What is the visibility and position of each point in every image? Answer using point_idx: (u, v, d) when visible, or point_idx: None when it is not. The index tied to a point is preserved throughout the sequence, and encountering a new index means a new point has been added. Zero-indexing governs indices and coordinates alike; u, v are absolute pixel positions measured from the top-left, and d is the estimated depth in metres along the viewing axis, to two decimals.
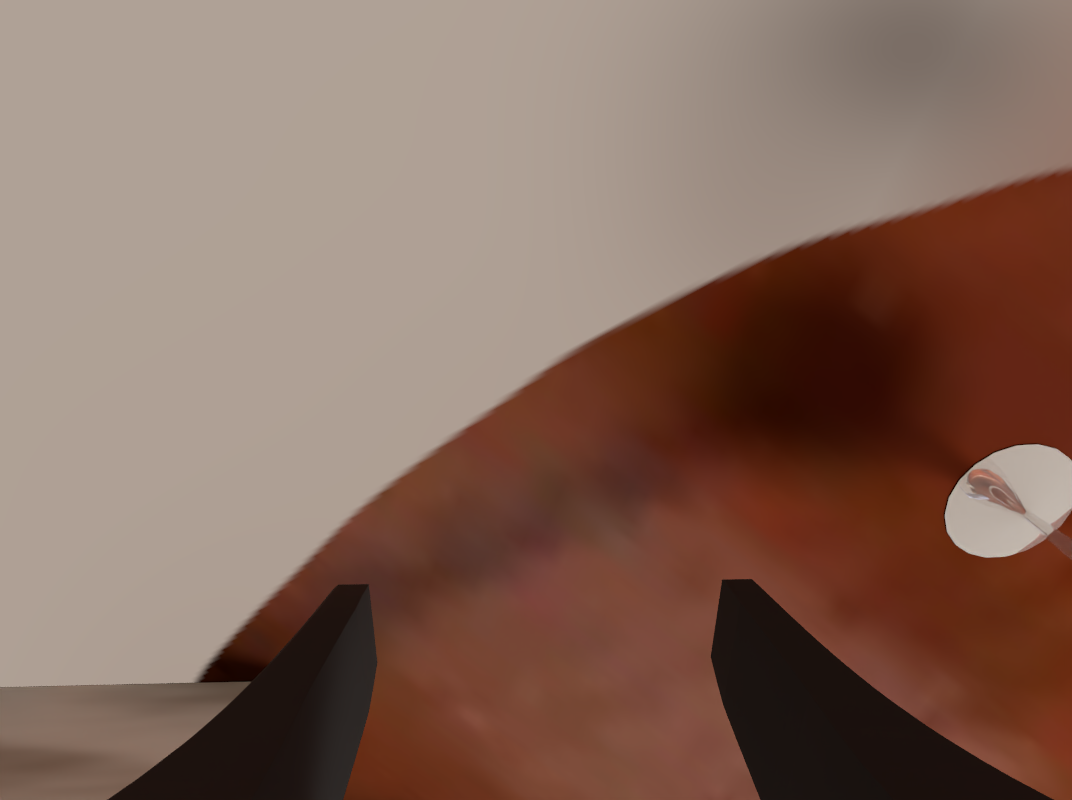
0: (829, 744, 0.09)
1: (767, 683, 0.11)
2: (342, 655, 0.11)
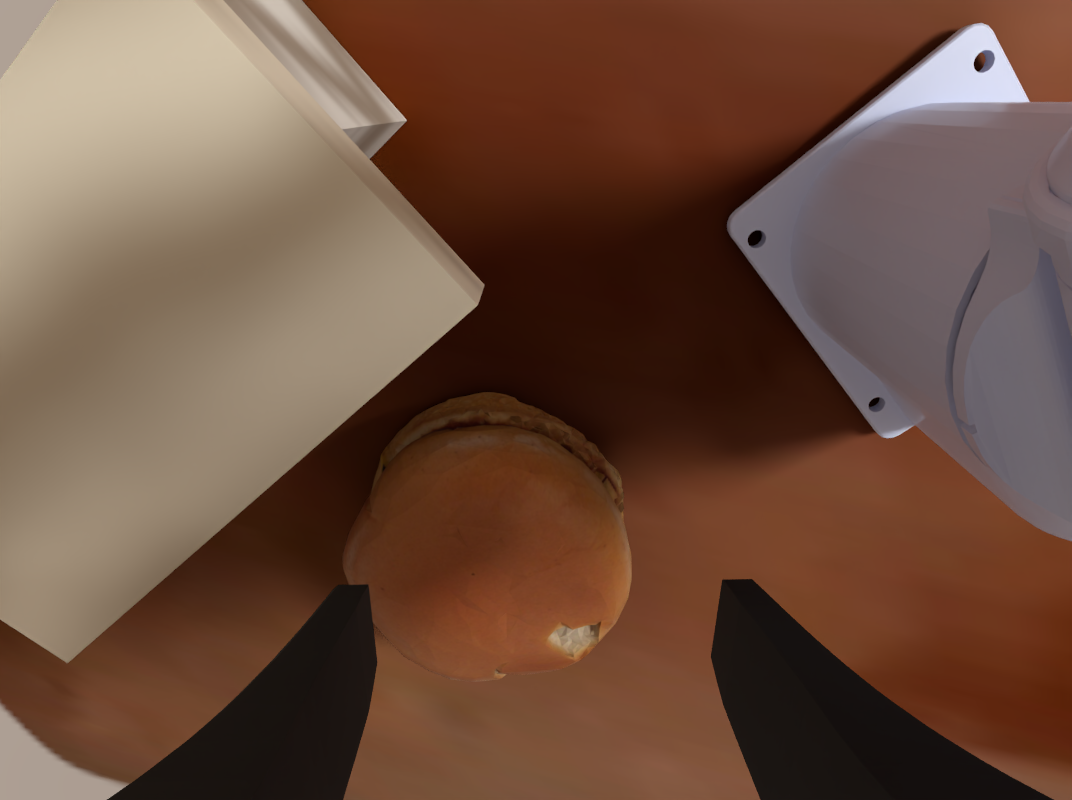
0: (829, 744, 0.09)
1: (767, 683, 0.11)
2: (343, 655, 0.11)
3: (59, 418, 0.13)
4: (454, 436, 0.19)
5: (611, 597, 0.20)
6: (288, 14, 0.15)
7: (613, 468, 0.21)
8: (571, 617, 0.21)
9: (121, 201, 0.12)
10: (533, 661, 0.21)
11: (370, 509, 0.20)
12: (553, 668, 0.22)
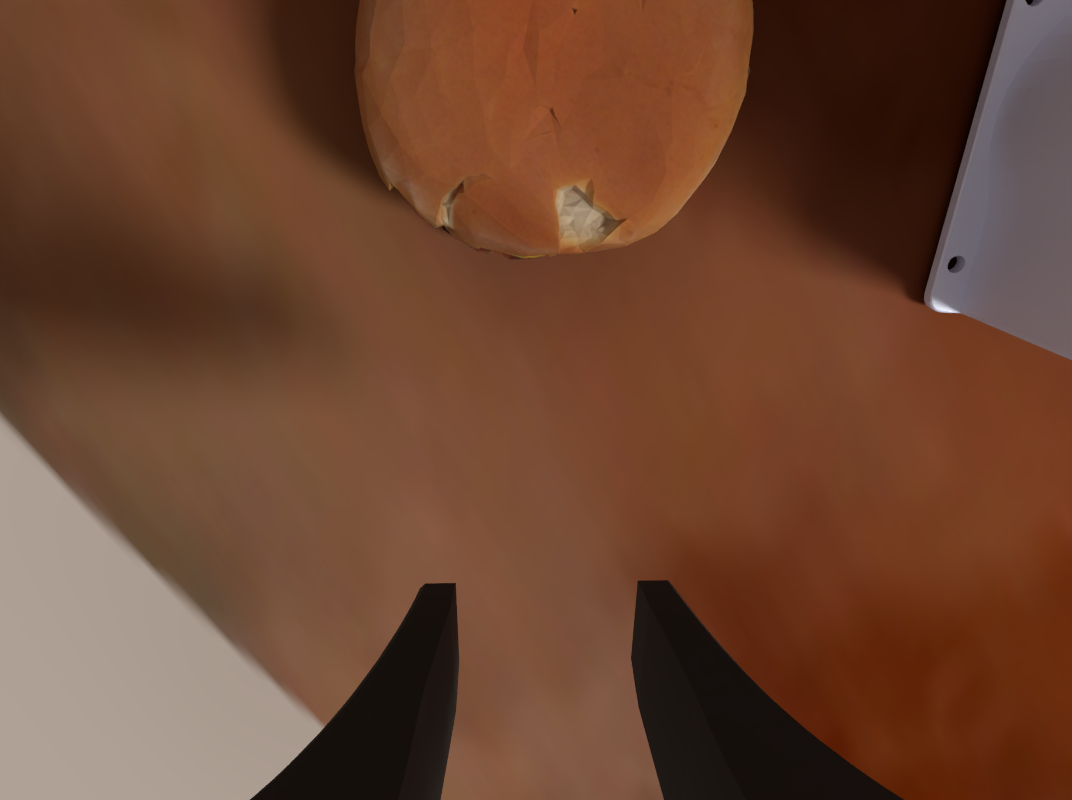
0: (707, 747, 0.09)
1: (667, 685, 0.11)
2: (443, 654, 0.11)
3: None
4: None
5: (663, 197, 0.16)
6: None
7: None
8: (606, 184, 0.15)
9: None
10: (518, 202, 0.15)
11: None
12: (524, 237, 0.16)
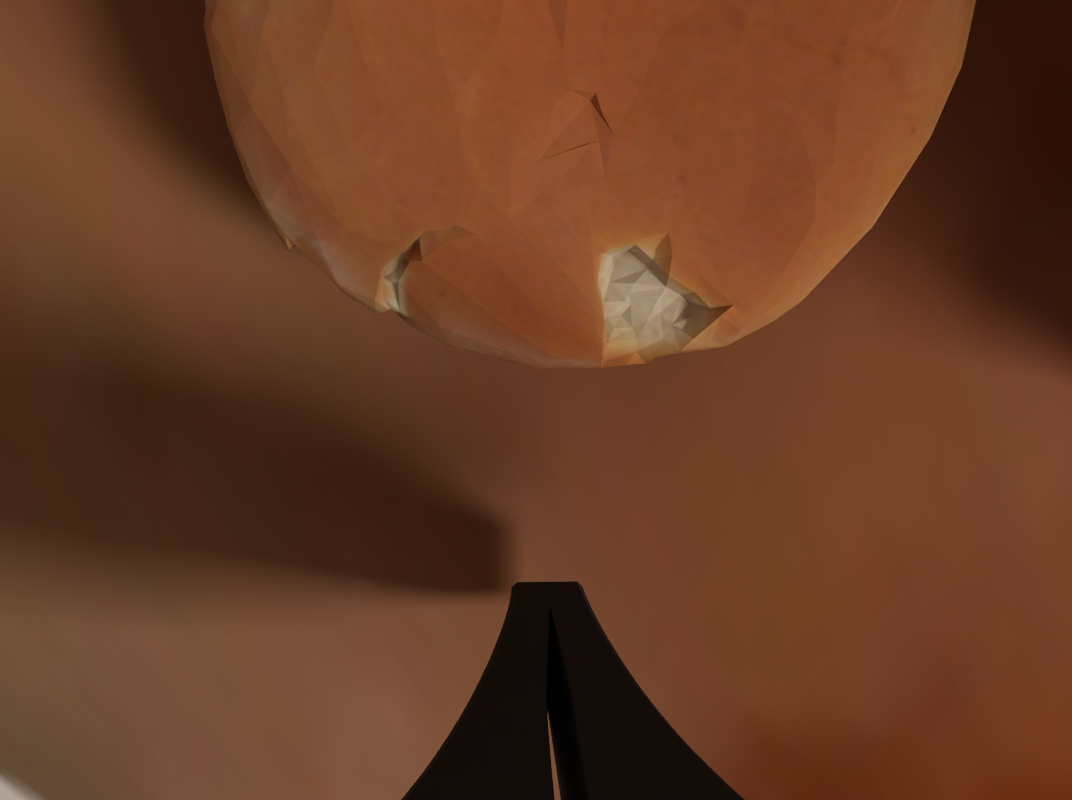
0: (576, 750, 0.09)
1: (560, 687, 0.11)
2: None
3: None
4: None
5: (802, 265, 0.08)
6: None
7: None
8: (696, 243, 0.08)
9: None
10: (526, 279, 0.08)
11: None
12: (537, 340, 0.08)
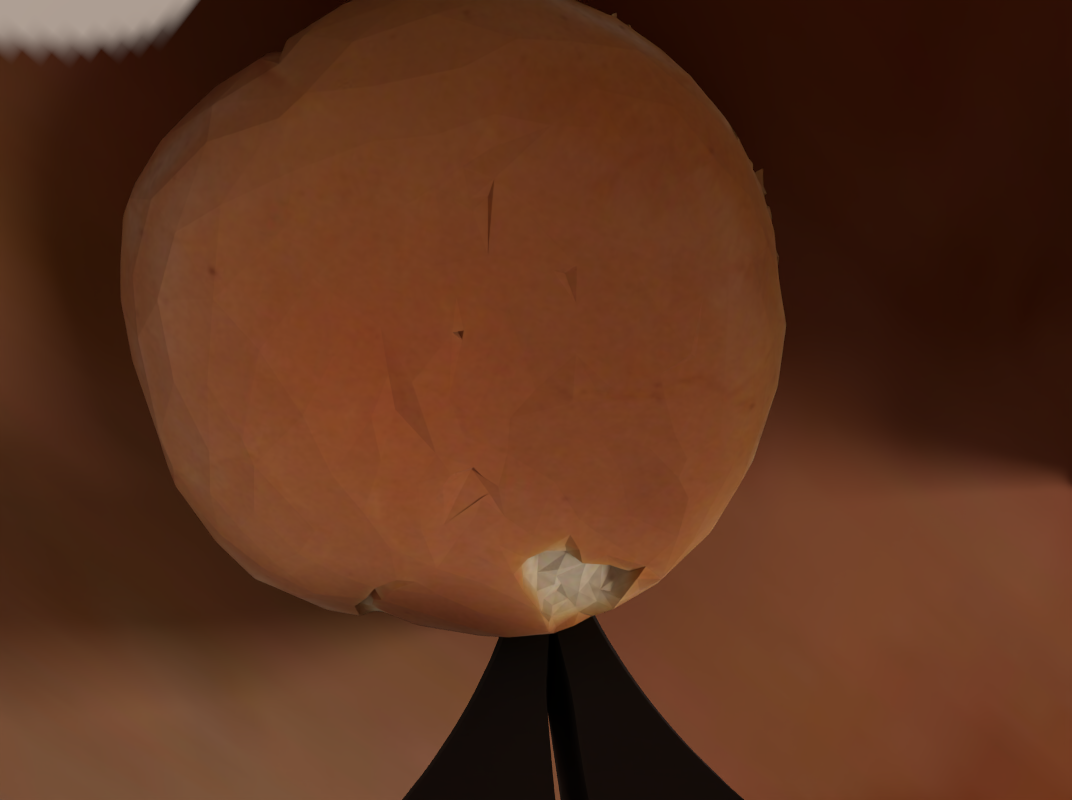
0: (576, 750, 0.09)
1: (560, 687, 0.11)
2: (548, 652, 0.11)
3: None
4: None
5: (694, 524, 0.09)
6: None
7: None
8: (596, 536, 0.09)
9: None
10: (466, 598, 0.09)
11: (276, 59, 0.07)
12: (493, 630, 0.10)
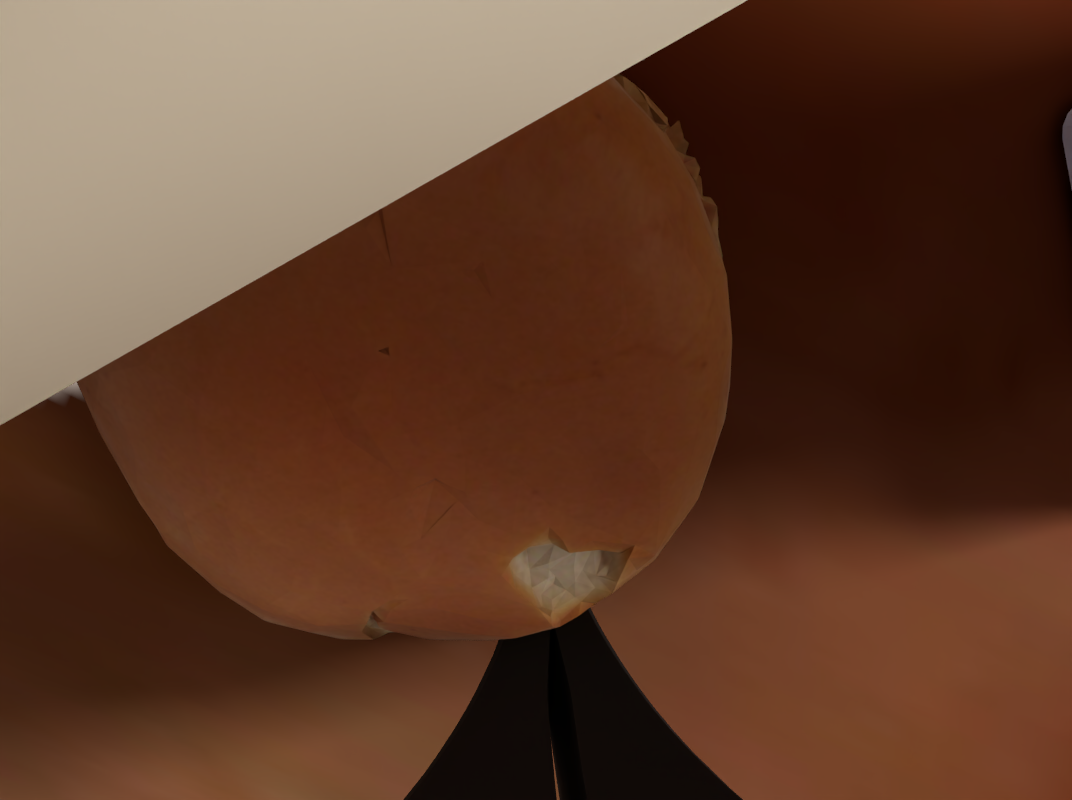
0: (575, 750, 0.09)
1: (559, 687, 0.11)
2: (549, 651, 0.11)
3: None
4: None
5: (673, 494, 0.09)
6: None
7: (718, 245, 0.10)
8: (576, 523, 0.09)
9: None
10: (462, 608, 0.09)
11: None
12: (498, 633, 0.10)
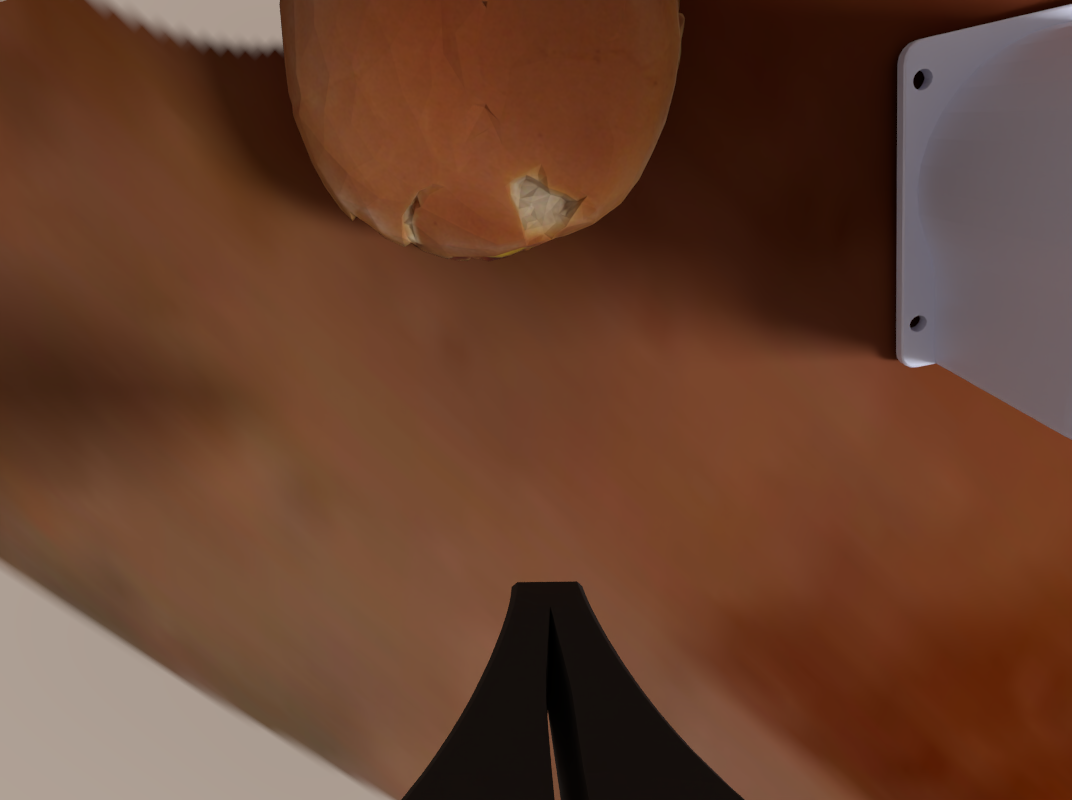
0: (577, 750, 0.09)
1: (560, 687, 0.11)
2: None
3: None
4: None
5: (618, 166, 0.15)
6: None
7: (679, 49, 0.17)
8: (557, 167, 0.15)
9: None
10: (474, 204, 0.15)
11: None
12: (489, 237, 0.16)
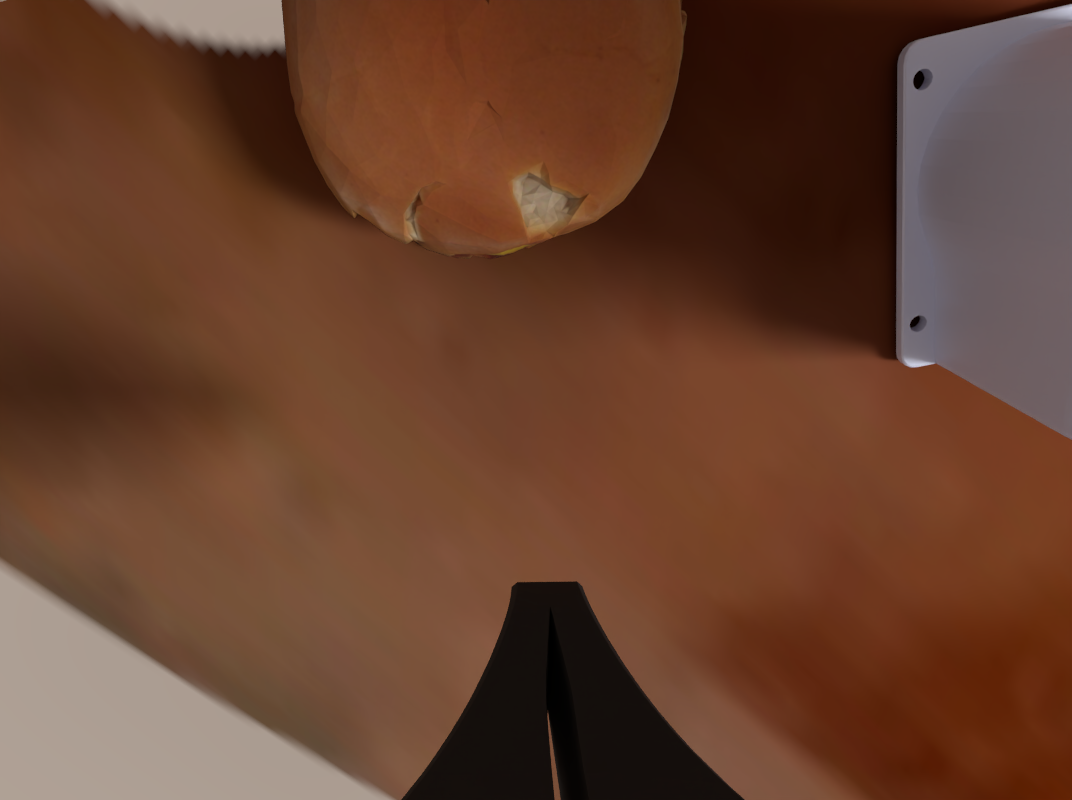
0: (577, 750, 0.09)
1: (560, 687, 0.11)
2: None
3: None
4: None
5: (620, 164, 0.15)
6: None
7: (681, 47, 0.17)
8: (559, 164, 0.15)
9: None
10: (476, 201, 0.15)
11: None
12: (491, 234, 0.16)
